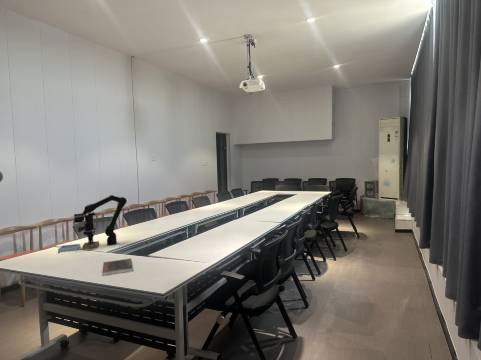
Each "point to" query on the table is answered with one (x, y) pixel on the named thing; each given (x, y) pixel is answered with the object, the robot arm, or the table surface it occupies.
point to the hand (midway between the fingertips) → (90, 241)
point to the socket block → (91, 245)
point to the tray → (69, 248)
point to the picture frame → (117, 267)
